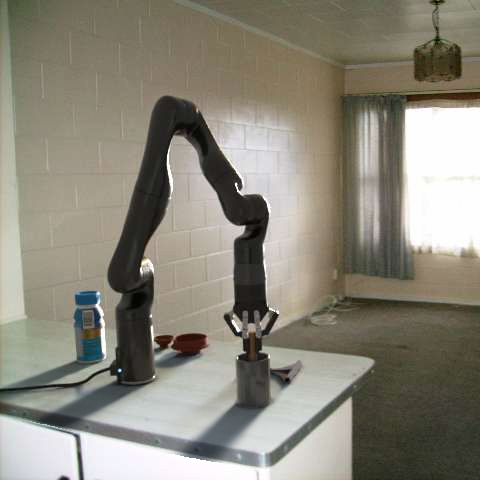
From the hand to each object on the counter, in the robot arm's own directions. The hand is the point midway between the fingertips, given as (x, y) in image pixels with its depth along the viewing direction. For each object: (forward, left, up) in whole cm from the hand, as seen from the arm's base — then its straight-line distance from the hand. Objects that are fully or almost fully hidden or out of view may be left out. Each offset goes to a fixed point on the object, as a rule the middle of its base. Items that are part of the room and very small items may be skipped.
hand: (252, 352), depth 150 cm
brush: (0, 0, -11) cm, 11 cm away
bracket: (+4, +20, -12) cm, 24 cm away
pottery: (-23, +46, -12) cm, 53 cm away
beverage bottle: (-48, +40, -12) cm, 64 cm away
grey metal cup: (0, 0, -12) cm, 12 cm away
